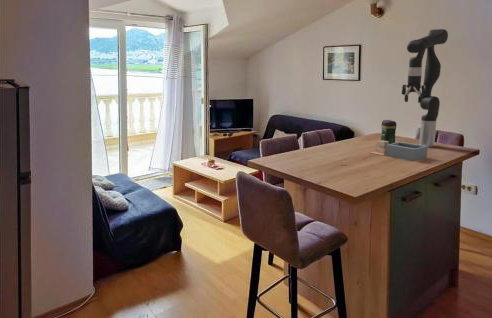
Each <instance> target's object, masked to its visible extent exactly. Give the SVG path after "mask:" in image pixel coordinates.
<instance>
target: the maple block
mask: <svg viewBox="0 0 492 318" xmlns="http://www.w3.org/2000/svg"><path fill="white" fill-rule="evenodd" d="M388 144H389V141H383V140H381V139H380V140H377V141H376V152H377V153H383V154H384V153H387V145H388Z"/></svg>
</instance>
